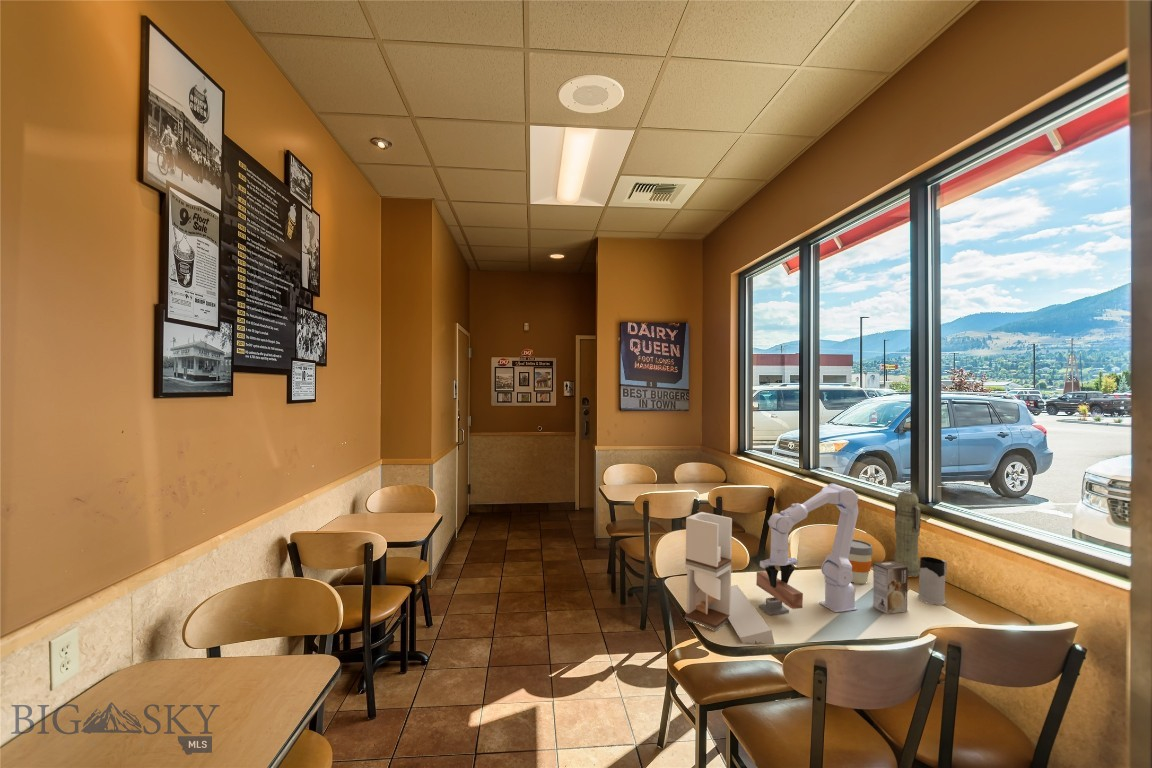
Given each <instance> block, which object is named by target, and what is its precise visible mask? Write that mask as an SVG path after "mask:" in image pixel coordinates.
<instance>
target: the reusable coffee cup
mask: <svg viewBox="0 0 1152 768" xmlns="http://www.w3.org/2000/svg"><path fill="white" fill-rule="evenodd" d="M873 554H874V551H873V545H872V544H871V543H869V542H866V541H863V540H859V539H854V538H853V539H852V544H851V548H850V553H849V557H848V560H849V562H850V563H851V565H852V581H851V582H854V583H853V584H856V583H865V584H867V583H868V578H869V572H871V569H872V561H873V559H872V556H873ZM866 582H867V583H866Z"/></svg>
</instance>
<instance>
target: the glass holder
mask: <svg viewBox="0 0 1152 768" xmlns="http://www.w3.org/2000/svg"><path fill="white" fill-rule="evenodd" d="M947 570H948V563H947V561H946V560H943V559H941V558H940V559H939V558H935V557H931V556H921V557H920V559H919V571H918V574H919V576H918V577H919V579H918V580H919V581H918V584H919V585H918V588H919V589H918V594H917V599H918V598H919V599H918V600H920V601H921V600H922V602H925V603H926V602H927V603H926V604H931V605H934V604H936V606H944V604H945V603H946V604H947V601H946V599H945V597H946V596H945V592H946V577H947ZM946 604H945V605H946Z"/></svg>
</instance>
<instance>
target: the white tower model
mask: <svg viewBox="0 0 1152 768" xmlns="http://www.w3.org/2000/svg"><path fill="white" fill-rule="evenodd" d="M685 521H686V522H685V569H686V570H687V571H686V573H687V574H686V613H684V620H685V619H686V620H685V621H686V622H689V623H692V622H696V623H699V624H702V625H704V626H705V627H708V628H711V629H713V630H715V631H716V632H718V631H719V630H720V629H721V628H723V627H724V626H725V625H726V624H727V622H728V623H730V621H729V619H728V617H729V616H730V612H731V586H732V539H733V538H732V537H733V536H732V534H733V533H732V531H733V530H732V529H733V526H732V525H733V518H732V517H728V516H723V515H718V514H714V513H709V512H704V511H700V512H697V513H695V514H692V515H689V516H687V517H686V519H685ZM724 624H725V625H724ZM723 625H724V626H723ZM722 626H723V627H722ZM705 627H704V628H705ZM720 627H721V628H720ZM719 628H720V629H719ZM718 629H719V630H718ZM715 631H714V632H715Z"/></svg>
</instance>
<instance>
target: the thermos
mask: <svg viewBox="0 0 1152 768" xmlns="http://www.w3.org/2000/svg"><path fill="white" fill-rule="evenodd" d="M921 512H922V511H921V508H920V506H919V498H918V496H917V493H915V492H913V491H900V492H899V493H898V495H897V498H896V501H895V503H894V532H895V554H894V556H893V557H894V558H893V559H894V561H893V562H896V563H898V564H901V565H903V566H906V567H908V576H912V577H915V576H918V575H919V571H920V559H919V556H918V555H919V536H920V533H921V532H920V531H921V517H922V516H921ZM918 577H919V576H918Z"/></svg>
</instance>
